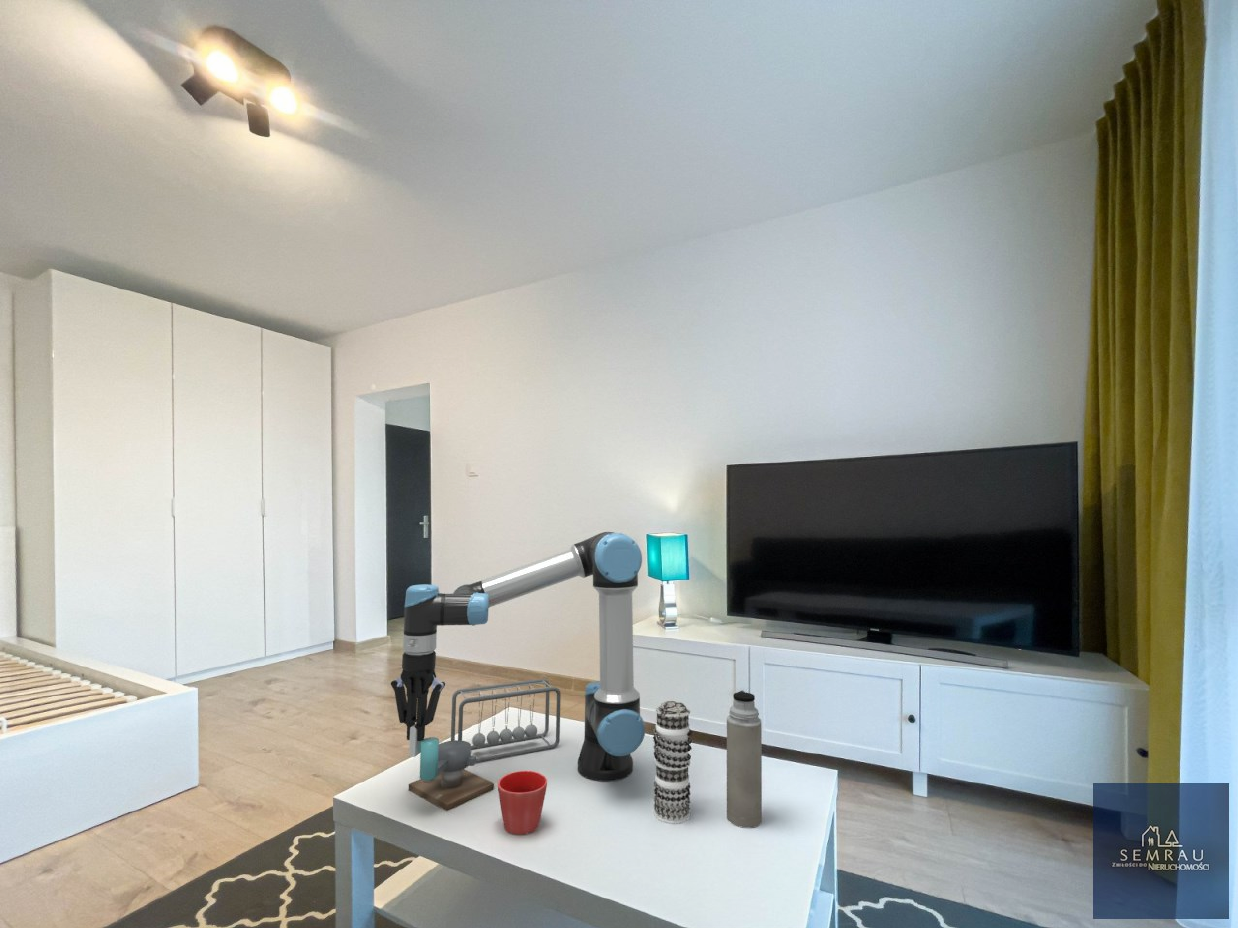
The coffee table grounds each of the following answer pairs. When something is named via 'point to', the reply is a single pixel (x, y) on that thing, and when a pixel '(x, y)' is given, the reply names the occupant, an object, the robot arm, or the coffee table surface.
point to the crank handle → (444, 757)
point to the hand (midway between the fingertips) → (414, 754)
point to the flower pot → (522, 801)
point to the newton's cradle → (506, 733)
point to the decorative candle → (672, 763)
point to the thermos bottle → (744, 762)
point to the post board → (451, 788)
